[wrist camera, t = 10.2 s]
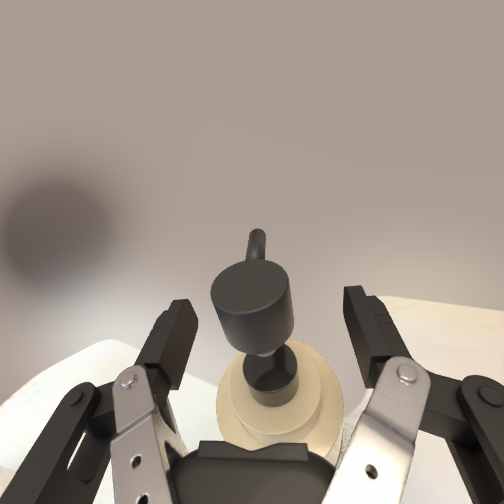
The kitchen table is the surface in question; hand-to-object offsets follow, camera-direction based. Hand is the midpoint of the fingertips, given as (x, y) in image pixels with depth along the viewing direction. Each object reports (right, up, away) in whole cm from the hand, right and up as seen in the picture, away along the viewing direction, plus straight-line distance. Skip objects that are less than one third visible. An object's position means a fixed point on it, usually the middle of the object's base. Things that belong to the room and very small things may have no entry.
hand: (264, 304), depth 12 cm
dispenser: (+3, -16, +8) cm, 18 cm away
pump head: (0, -1, 0) cm, 1 cm away
